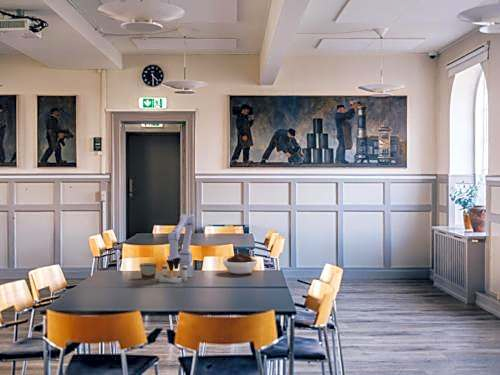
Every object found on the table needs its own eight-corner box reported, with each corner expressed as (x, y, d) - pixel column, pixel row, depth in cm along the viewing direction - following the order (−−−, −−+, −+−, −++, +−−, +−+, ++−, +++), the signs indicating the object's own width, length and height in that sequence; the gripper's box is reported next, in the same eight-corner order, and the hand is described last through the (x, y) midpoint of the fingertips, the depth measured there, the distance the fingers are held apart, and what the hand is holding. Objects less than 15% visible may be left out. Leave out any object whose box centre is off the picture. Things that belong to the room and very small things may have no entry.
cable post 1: (165, 279, 405) (165, 264, 405) (167, 279, 403) (167, 265, 403) (161, 279, 403) (161, 264, 403) (163, 280, 401) (163, 265, 400)
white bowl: (216, 274, 427) (216, 253, 427) (235, 269, 448) (235, 250, 448) (245, 277, 414) (245, 255, 414) (263, 272, 435) (263, 252, 435)
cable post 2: (185, 280, 400) (185, 265, 400) (188, 280, 398) (188, 266, 398) (181, 280, 398) (181, 266, 398) (184, 281, 396) (184, 266, 396)
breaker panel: (163, 280, 401) (163, 274, 401) (182, 281, 396) (182, 275, 396) (159, 281, 394) (159, 276, 394) (178, 282, 390) (178, 277, 390)
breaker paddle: (168, 276, 395) (168, 272, 395) (172, 276, 394) (172, 272, 394) (167, 276, 394) (167, 272, 394) (171, 277, 393) (171, 273, 393)
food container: (159, 277, 412) (159, 263, 412) (156, 278, 406) (156, 264, 406) (141, 277, 413) (141, 262, 413) (139, 278, 407) (139, 264, 407)
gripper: (173, 248, 407) (173, 267, 407) (163, 250, 393) (163, 270, 394) (182, 248, 405) (182, 268, 405) (173, 251, 391) (173, 271, 391)
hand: (173, 269), depth 399 cm, fingers open, 7 cm apart
